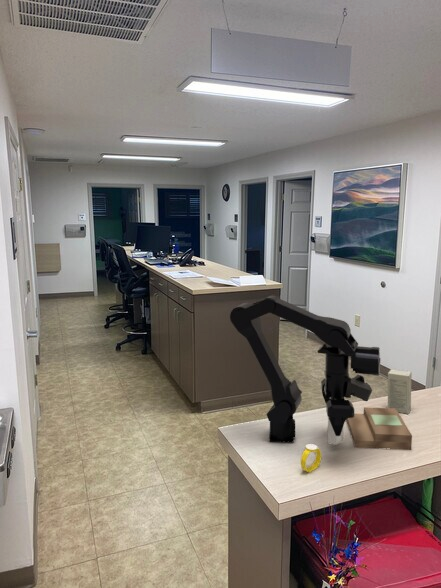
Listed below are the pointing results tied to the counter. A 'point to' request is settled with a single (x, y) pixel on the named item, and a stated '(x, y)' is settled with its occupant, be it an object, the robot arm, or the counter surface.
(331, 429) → the eye dropper bottle
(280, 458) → the counter surface
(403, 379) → the skincare box
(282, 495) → the counter surface
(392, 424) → the step riser
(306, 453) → the watch
